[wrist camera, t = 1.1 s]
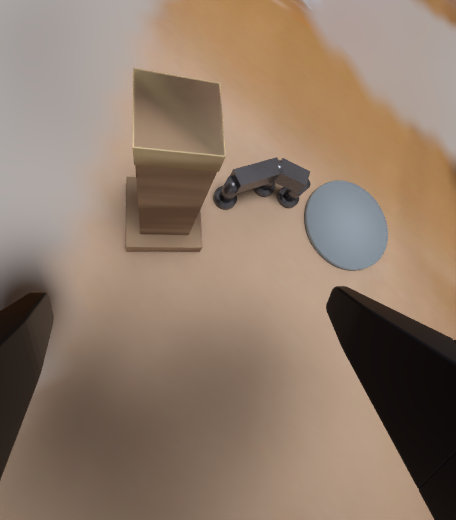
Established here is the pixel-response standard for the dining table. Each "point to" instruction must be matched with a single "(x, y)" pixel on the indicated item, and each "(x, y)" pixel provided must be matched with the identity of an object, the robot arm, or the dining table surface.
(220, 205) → the dark grey legged piece
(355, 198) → the mat
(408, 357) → the robot arm
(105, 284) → the dining table surface
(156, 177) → the square column on plinth
